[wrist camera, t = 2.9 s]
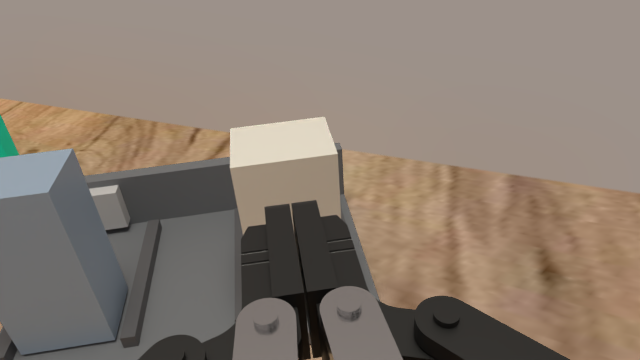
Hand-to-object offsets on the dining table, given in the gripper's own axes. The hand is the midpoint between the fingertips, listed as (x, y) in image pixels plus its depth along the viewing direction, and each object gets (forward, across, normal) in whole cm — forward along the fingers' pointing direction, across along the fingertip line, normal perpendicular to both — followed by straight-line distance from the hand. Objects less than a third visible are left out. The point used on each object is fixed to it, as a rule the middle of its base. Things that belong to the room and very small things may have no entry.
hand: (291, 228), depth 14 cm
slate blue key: (+10, +13, +13) cm, 21 cm away
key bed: (+14, +6, +14) cm, 20 cm away
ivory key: (+10, 0, +12) cm, 16 cm away
